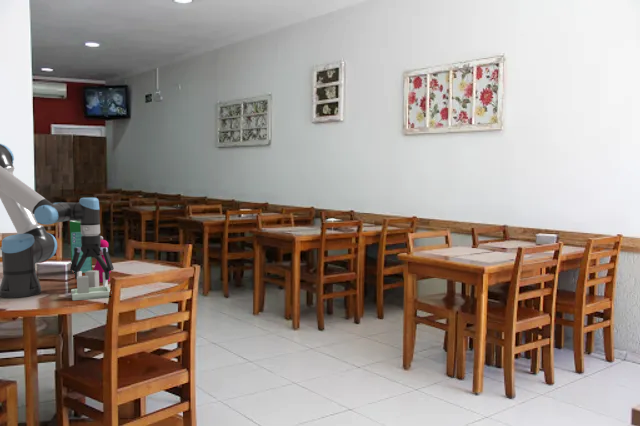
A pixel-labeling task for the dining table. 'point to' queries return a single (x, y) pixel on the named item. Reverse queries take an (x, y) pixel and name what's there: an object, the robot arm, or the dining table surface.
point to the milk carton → (78, 245)
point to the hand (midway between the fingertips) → (92, 287)
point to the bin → (91, 293)
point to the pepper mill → (97, 265)
